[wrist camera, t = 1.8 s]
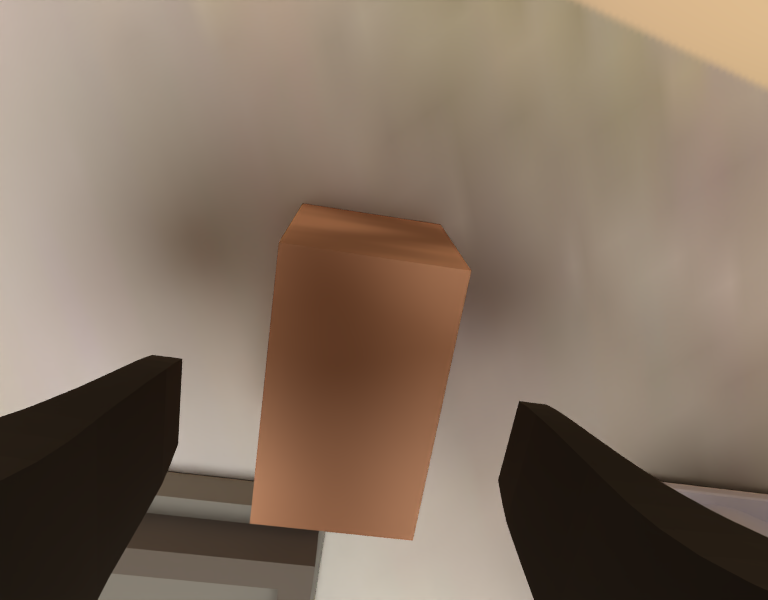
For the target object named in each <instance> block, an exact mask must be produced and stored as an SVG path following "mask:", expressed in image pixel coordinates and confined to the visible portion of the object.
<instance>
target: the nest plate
mask: <svg viewBox="0 0 768 600" xmlns="http://www.w3.org/2000/svg"><path fill="white" fill-rule="evenodd" d="M253 488H254V481H247V480H238V479H229V478H220V477H211V476H202V475H193V474H184V473H175V472H167V474H166V476H165V478H164V481H163V483H162V485H161V487H160V489H159V491H158V493H157V495H156V496H155V498H154V500H153V502H152V503H151V505H150V507H149V509H148V511H147V512H146V514H145V516H144V518H143V519H142V521H141V523H140V525H139V526H138V528H137V530H136V532H135V533H134V535H133V537H132V539H131V540H130V542H129V544H128V546H127V547H126V549H125V551H124V553H123V554H122V556H121V558H120V560H119V561H118V563H117V565H116V567H115V568H114V570H113V572H112V573H111V575H110V577H109V579H108V581H107V583H106V585H105V587H104V589H103V590H102V592H101V594H100V596H99V598H98V600H314V599H315V593H316V586H317V580H318V573H319V567H320V561H321V554H322V548H323V541H324V535H325V531H317V530H307V529H298V528H288V527H279V526H269V525H259V524H250V517H251V507H252V497H253Z"/></svg>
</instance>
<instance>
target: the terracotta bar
mask: <svg viewBox="0 0 768 600" xmlns="http://www.w3.org/2000/svg"><path fill="white" fill-rule="evenodd" d="M470 274H471V270H470V268H469V267H468V265H467V264H466V262H465V261H464V259H463V258H462V256H461V255H460V253H459V252H458V250H457V249H456V247H455V246H454V244H453V243H452V241H451V240H450V238H449V237H448V235H447V234H446V232H445V231H444V229H443V228H442V226H441V225H440V224H434V223H427V222H421V221H414V220H407V219H401V218H394V217H388V216H381V215H375V214H368V213H362V212H355V211H349V210H342V209H336V208H329V207H323V206H316V205H310V204H302V206H301V207H300V209H299V211H298V212H297V214H296V215H295V217H294V219H293V220H292V222H291V224H290V225H289V227H288V228H287V230H286V232H285V233H284V235H283V237H282V238H281V240H280V242H279V246H278V255H277V265H276V275H275V284H274V294H273V304H272V313H271V323H270V333H269V343H268V352H267V362H266V372H265V381H264V391H263V401H262V410H261V420H260V430H259V439H258V449H257V459H256V468H255V478H254V488H253V497H252V507H251V517H250V524H259V525H269V526H279V527H288V528H298V529H307V530H317V531H327V532H336V533H346V534H356V535H365V536H375V537H384V538H394V539H404V540H413V537H414V532H415V527H416V523H417V518H418V514H419V509H420V504H421V500H422V495H423V491H424V486H425V481H426V477H427V472H428V468H429V463H430V458H431V454H432V449H433V445H434V440H435V435H436V431H437V426H438V422H439V417H440V412H441V408H442V403H443V398H444V394H445V389H446V385H447V380H448V375H449V371H450V366H451V362H452V357H453V352H454V348H455V343H456V339H457V334H458V329H459V325H460V320H461V316H462V311H463V306H464V302H465V297H466V292H467V288H468V283H469V279H470Z"/></svg>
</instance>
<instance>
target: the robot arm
mask: <svg viewBox="0 0 768 600" xmlns="http://www.w3.org/2000/svg"><path fill="white" fill-rule="evenodd" d="M181 375H182V359H180V358H172V357H164V356H156V355H151V356H148V357H145V358H142V359H140V360H138V361H135V362H133V363H131V364H129V365H126V366H124V367H122V368H120V369H118V370H115V371H113V372H111V373H109V374H107V375H105V376H102V377H100V378H98V379H96V380H94V381H91V382H89V383H87V384H85V385H83V386H80V387H78V388H76V389H73V390H71V391H68V392H66V393H63V394H61V395H58V396H56V397H53V398H51V399H49V400H46V401H44V402H41V403H39V404H36V405H34V406H31V407H28V408H26V409H23V410H20V411H17V412H14V413H11V414H8V415H5V416H2V417H0V600H98V598H99V596H100V594H101V592H102V590H103V589H104V587H105V585H106V583H107V581H108V579H109V577H110V575H111V573H112V572H113V570H114V568H115V567H116V565H117V563H118V561H119V560H120V558H121V556H122V554H123V553H124V551H125V549H126V547H127V546H128V544H129V542H130V540H131V539H132V537H133V535H134V533H135V532H136V530H137V528H138V526H139V525H140V523H141V521H142V519H143V518H144V516H145V514H146V512H147V511H148V509H149V507H150V505H151V503H152V502H153V500H154V498H155V496H156V495H157V493H158V491H159V489H160V487H161V485H162V483H163V481H164V478H165V476H166V474H167V471H168V469H169V466H170V464H171V461H172V458H173V456H174V453H175V451H176V448H177V445H178V435H179V415H180V395H181ZM498 482H499V487H500V493H501V498H502V503H503V508H504V513H505V517H506V522H507V525H508V528H509V531H510V534H511V537H512V539H513V542H514V545H515V548H516V551H517V554H518V557H519V559H520V562H521V565H522V568H523V570H524V573H525V576H526V579H527V582H528V584H529V587H530V590H531V593H532V595H533V598H534V600H768V494H760V493H752V492H743V491H735V490H726V489H718V488H710V487H701V486H693V485H684V484H676V483H667V482H661V481H659V480H658V479H656V478H655V477H653V476H651V475H650V474H648V473H647V472H645V471H644V470H642V469H641V468H639V467H637V466H636V465H634V464H633V463H631V462H630V461H629V460H627V459H626V458H624V457H623V456H621V455H620V454H618V453H617V452H615V451H614V450H613V449H611V448H610V447H608V446H607V445H605V444H604V443H603V442H601V441H600V440H598V439H597V438H596V437H594V436H593V435H592V434H590V433H589V432H587V431H586V430H585V429H583V428H582V427H580V426H579V425H578V424H576V423H575V422H573V421H572V420H570V419H569V418H568V417H566V416H565V415H563V414H562V413H560V412H559V411H557V410H555V409H554V408H552V407H550V406H548V405H545V404H537V403H529V402H521V401H519V404H518V408H517V412H516V415H515V419H514V423H513V427H512V430H511V434H510V438H509V442H508V445H507V449H506V453H505V457H504V460H503V464H502V468H501V472H500V475H499V479H498Z"/></svg>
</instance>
